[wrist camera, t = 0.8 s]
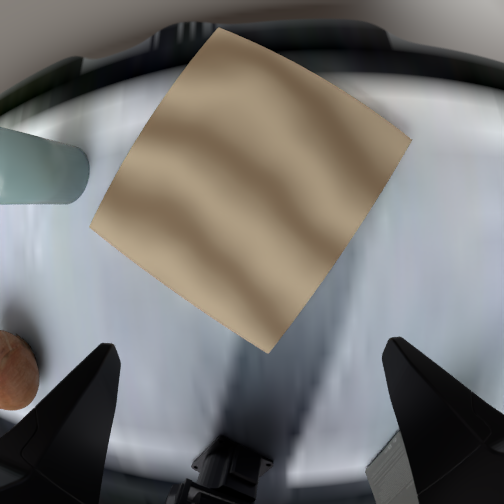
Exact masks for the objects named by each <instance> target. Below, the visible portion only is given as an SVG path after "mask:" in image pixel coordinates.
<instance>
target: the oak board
mask: <svg viewBox="0 0 504 504" xmlns="http://www.w3.org/2000/svg"><path fill="white" fill-rule="evenodd" d="M411 141H412V139H410V138H409V137H408V136H407V135H405V134H404V133H403V132H401V131H400V130H399V129H398V128H396V127H395V126H394V125H392V124H391V123H390V122H388V121H387V120H385V119H384V118H383V117H381V116H380V115H379V114H377V113H376V112H374V111H373V110H371V109H370V108H369V107H367V106H366V105H364V104H363V103H361V102H360V101H358V100H357V99H355V98H354V97H352V96H351V95H349V94H347V93H346V92H344V91H343V90H341V89H340V88H338V87H336V86H335V85H333V84H331V83H330V82H328V81H326V80H325V79H323V78H321V77H320V76H318V75H316V74H314V73H313V72H311V71H309V70H307V69H306V68H304V67H302V66H300V65H298V64H296V63H295V62H293V61H291V60H289V59H287V58H285V57H283V56H281V55H279V54H277V53H275V52H273V51H271V50H269V49H267V48H265V47H263V46H261V45H258V44H256V43H254V42H252V41H250V40H248V39H245V38H243V37H241V36H238V35H236V34H234V33H231V32H229V31H226V30H224V29H221V28H218V29H217V30H216V31H215V32H214V33H213V35H212V36H211V37H210V38H209V39H208V40H207V42H206V43H205V44H204V45H203V46H202V48H201V49H200V50H199V51H198V53H197V54H196V55H195V56H194V58H193V59H192V60H191V62H190V63H189V64H188V65H187V67H186V68H185V69H184V71H183V72H182V73H181V75H180V76H179V77H178V79H177V80H176V81H175V83H174V84H173V85H172V87H171V88H170V90H169V91H168V92H167V94H166V95H165V97H164V98H163V100H162V101H161V103H160V104H159V105H158V107H157V108H156V110H155V111H154V113H153V114H152V116H151V117H150V119H149V120H148V122H147V124H146V125H145V127H144V128H143V130H142V131H141V133H140V135H139V136H138V138H137V139H136V141H135V143H134V144H133V146H132V148H131V149H130V151H129V153H128V154H127V156H126V158H125V160H124V161H123V163H122V165H121V167H120V168H119V170H118V172H117V174H116V175H115V177H114V179H113V181H112V183H111V185H110V187H109V188H108V190H107V192H106V194H105V196H104V198H103V200H102V202H101V204H100V206H99V208H98V210H97V212H96V214H95V216H94V218H93V220H92V222H91V224H90V226H89V227H90V228H91V229H92V230H93V231H94V232H96V233H97V234H98V235H99V236H101V237H102V238H103V239H105V240H106V241H107V242H108V243H110V244H111V245H112V246H113V247H115V248H116V249H117V250H119V251H120V252H121V253H122V254H124V255H125V256H126V257H128V258H129V259H130V260H132V261H133V262H134V263H136V264H137V265H138V266H140V267H141V268H142V269H144V270H145V271H146V272H148V273H149V274H150V275H152V276H153V277H155V278H156V279H157V280H159V281H160V282H161V283H163V284H164V285H166V286H167V287H168V288H170V289H171V290H173V291H174V292H175V293H177V294H178V295H180V296H181V297H183V298H184V299H185V300H187V301H188V302H190V303H191V304H193V305H194V306H195V307H197V308H198V309H200V310H201V311H203V312H204V313H206V314H207V315H209V316H210V317H212V318H213V319H215V320H216V321H218V322H219V323H221V324H222V325H224V326H225V327H227V328H228V329H230V330H231V331H233V332H234V333H236V334H237V335H239V336H241V337H242V338H244V339H245V340H247V341H248V342H250V343H252V344H253V345H255V346H256V347H258V348H260V349H261V350H263V351H264V352H266V353H268V354H269V352H270V351H271V350H272V349H273V347H274V346H275V345H276V343H277V342H278V341H279V339H280V338H281V337H282V336H283V334H284V333H285V332H286V330H287V329H288V328H289V326H290V325H291V324H292V322H293V321H294V320H295V318H296V317H297V316H298V314H299V313H300V311H301V310H302V309H303V307H304V306H305V305H306V303H307V302H308V301H309V299H310V298H311V296H312V295H313V294H314V292H315V291H316V289H317V288H318V287H319V285H320V284H321V282H322V281H323V280H324V278H325V277H326V275H327V274H328V272H329V271H330V270H331V268H332V267H333V265H334V264H335V262H336V261H337V259H338V258H339V256H340V255H341V253H342V252H343V251H344V249H345V248H346V246H347V245H348V243H349V242H350V240H351V239H352V237H353V236H354V234H355V232H356V231H357V229H358V228H359V226H360V225H361V223H362V222H363V220H364V219H365V217H366V216H367V214H368V212H369V211H370V209H371V208H372V206H373V205H374V203H375V201H376V200H377V198H378V197H379V195H380V193H381V192H382V190H383V188H384V187H385V185H386V184H387V182H388V180H389V179H390V177H391V175H392V174H393V172H394V170H395V169H396V167H397V165H398V163H399V162H400V160H401V158H402V157H403V155H404V153H405V151H406V150H407V148H408V146H409V145H410V143H411Z"/></svg>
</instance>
